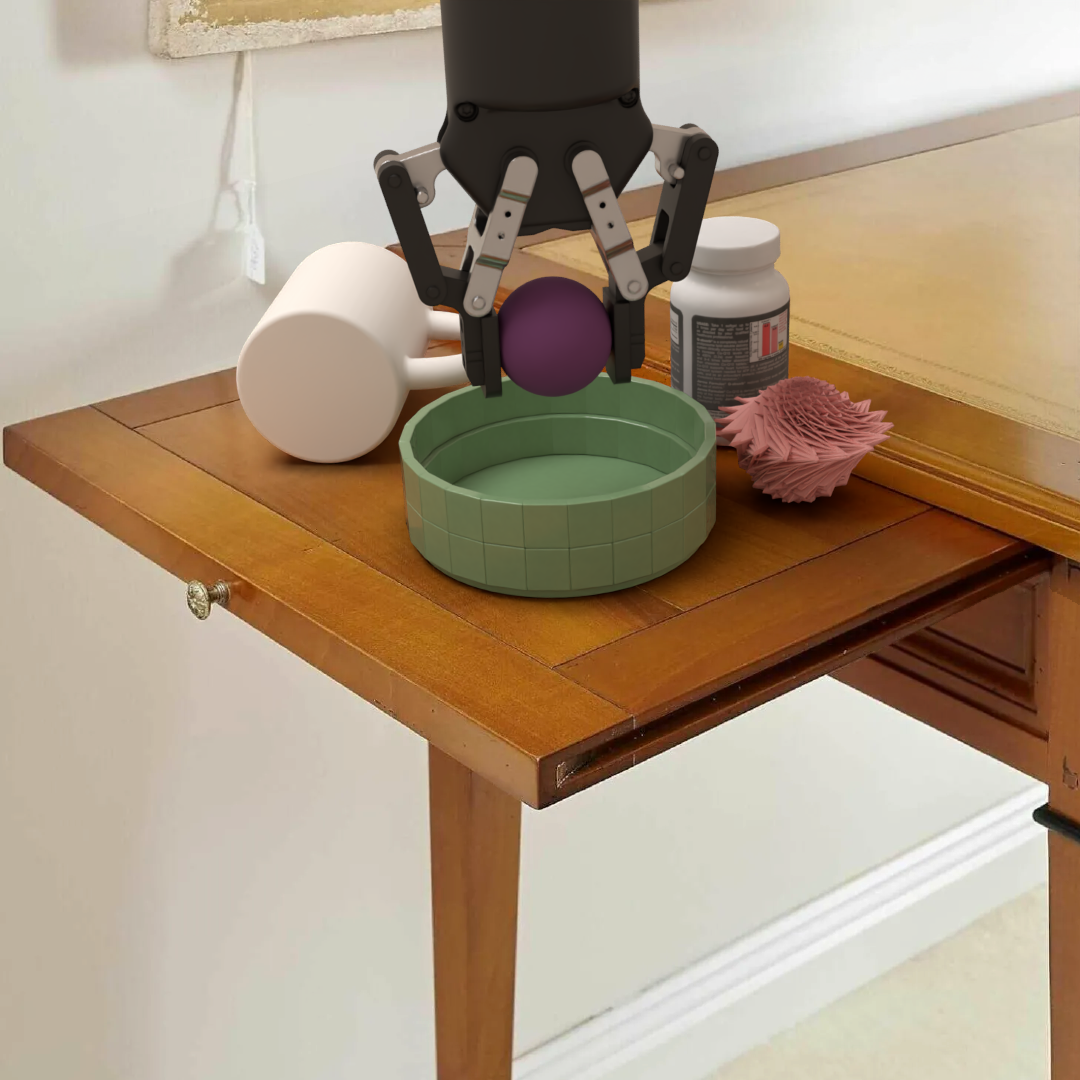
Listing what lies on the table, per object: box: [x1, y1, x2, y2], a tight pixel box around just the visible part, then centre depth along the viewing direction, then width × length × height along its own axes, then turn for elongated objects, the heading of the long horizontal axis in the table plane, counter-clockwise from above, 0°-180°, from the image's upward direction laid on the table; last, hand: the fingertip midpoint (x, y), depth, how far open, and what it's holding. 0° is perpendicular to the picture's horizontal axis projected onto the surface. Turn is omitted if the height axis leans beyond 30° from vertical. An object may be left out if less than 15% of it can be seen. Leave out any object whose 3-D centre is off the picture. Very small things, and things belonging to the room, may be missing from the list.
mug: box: [235, 241, 470, 464], centre depth 81 cm, size 12×10×8 cm
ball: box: [497, 275, 612, 397], centre depth 68 cm, size 5×5×5 cm
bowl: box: [398, 371, 717, 599], centre depth 71 cm, size 14×14×4 cm
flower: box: [713, 375, 895, 504], centre depth 73 cm, size 8×8×6 cm
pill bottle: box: [669, 215, 791, 447], centre depth 78 cm, size 6×6×10 cm
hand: (555, 382), depth 69 cm, fingers closed on ball, 5 cm apart
